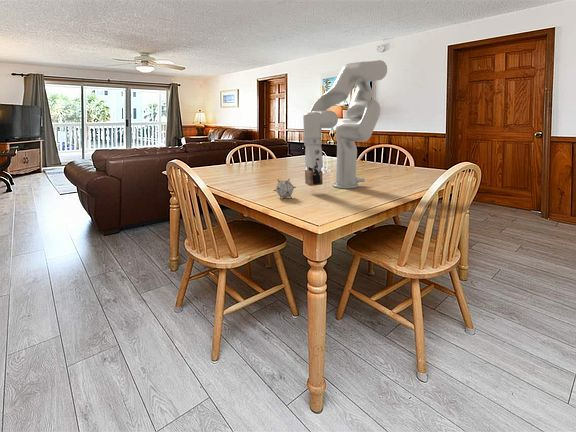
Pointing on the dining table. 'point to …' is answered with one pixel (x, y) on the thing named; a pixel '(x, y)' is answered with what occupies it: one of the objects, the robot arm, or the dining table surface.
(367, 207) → the dining table surface
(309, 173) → the walnut cube
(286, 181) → the grey spiked ball
